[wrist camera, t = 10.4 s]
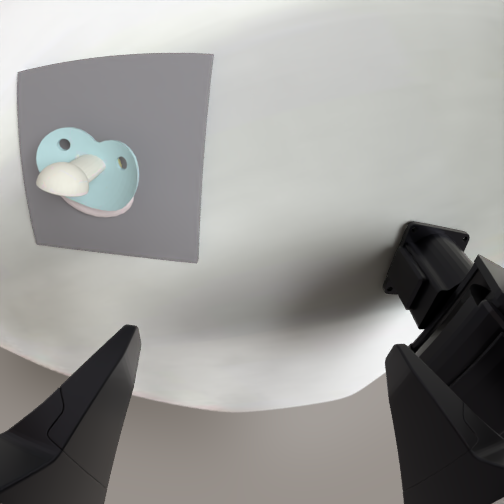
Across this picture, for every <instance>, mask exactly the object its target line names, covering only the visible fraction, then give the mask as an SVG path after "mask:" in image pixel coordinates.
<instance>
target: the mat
mask: <svg viewBox="0 0 504 504" xmlns="http://www.w3.org/2000/svg"><path fill="white" fill-rule="evenodd" d="M213 56H214V55H213V54H200V53H149V54H130V55H117V56H106V57H97V58H89V59H82V60H75V61H69V62H63V63H57V64H52V65H47V66H42V67H38V68H33V69H29V70H25V71H21V72H18V82H17V104H18V128H19V142H20V153H21V162H22V170H23V177H24V184H25V190H26V196H27V202H28V207H29V212H30V217H31V222H32V226H33V231H34V235H35V239H36V243H37V244H38V245H45V246H53V247H61V248H69V249H77V250H85V251H93V252H101V253H110V254H118V255H127V256H135V257H144V258H153V259H161V260H170V261H180V262H189V263H197V262H198V255H199V229H200V208H201V191H202V175H203V160H204V147H205V135H206V123H207V112H208V102H209V92H210V83H211V73H212V65H213ZM66 127H73V128H78V129H81V130H83V131H85V132H87V133H88V134H90V135H91V136H92V137H93V138H94V139H95V140H96V141H97V142H103V141H108V140H116V141H120V142H122V143H124V144H126V145H127V146H128V147H129V148H130V149H131V150H132V151H133V153H134V155H135V157H136V159H137V162H138V167H139V182H138V187H137V190H136V192H135V195H134V201H133V203H132V205H131V207H130V208H129V209H128V210H127V211H126V212H125V213H123V214H120V215H118V216H114V217H96V216H92V215H89V214H85V213H83V212H81V211H79V210H77V209H75V208H74V207H72V206H71V205H70V204H68V203H67V202H66V201H65V200H64V199H63V198H62V197H61V196H59V195H55V194H51V193H48V192H45V191H43V190H42V189H40V188H39V187H38V186H37V185H36V181H37V178H38V175H39V174H40V172H39V170H38V166H37V161H36V156H37V150H38V147H39V145H40V143H41V141H42V140H43V139H44V138H45V136H47V135H48V134H49V133H51V132H53V131H55V130H57V129H60V128H66ZM59 144H60V147H61V148H62V149H64V150H68V149H69V148H70V142H69V141H68V140H67V139H61V140H60V142H59ZM119 159H120V161H121V164H122V168H123V169H126V168H127V162H126V160H125V158H124V157H122V156H120V157H119Z"/></svg>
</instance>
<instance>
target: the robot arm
mask: <svg viewBox="0 0 504 504" xmlns="http://www.w3.org/2000/svg"><path fill="white" fill-rule="evenodd" d="M414 227H415V229H414V230H412V228H414ZM464 237H465V238H464ZM463 238H464V239H463ZM468 241H469V235H468V234H467V233H466V232H464V231H460V230H455V229H450V228H445V227H440V226H435V225H430V224H425V223H419V222H410V223H409V224H408V226H407V228H406V231H405V233H404V236H403V239H402V241H401V244H400V246H399V248H398V249H397V252H396V255H395V257H394V260H393V262H392V264H391V267H390V269H389V272H388V276H387V278H386V280H385V283H384V285H383V290H384V292H385V293H386V294H398V295H399V297H400V299H401V301H402V303H403V305H404V307H405V309H406V310H410V312H411V314H412V316H413V318H414V320H415V322H416V324H417V326H418V328H419V329H424V331H423V332H422V333H421V334H420V335H419V336H418V338H417V339H416V340H415V341H414V342H413V343H411V344H410V345H409V346H407V345H405V344H395V345H394V346H393V348H392V349H391V351H390V352H389V354H388V356H387V357H386V360H385V368H386V377H387V387H388V397H389V403H390V408H391V414H392V419H393V425H394V430H395V437H396V443H397V449H398V456H399V463H400V471H401V479H402V487H403V498H404V504H504V268H502V267H501V266H499V265H497V264H495V263H494V262H492V261H490V260H488V259H486V258H485V257H483V256H481V255H479V254H478V256H477V257H476V259H475V260H474V262H475V263H474V264H473V262H472V261H471V260H470V259H469V258H468V257H467V255H466V254H465V253H464V250H465V248H466V246H467V243H468ZM388 287H390V288H388ZM140 350H141V340H140V334H139V329H138V327H137V326H134V325H125V326H123V327H122V328H121V329H120V330H119V331H118V332H117V333H116V334H115V335H114V336H113V337H112V338H111V339H109V340H108V341H107V342H106V343H105V344H104V345H103V346H102V347H101V348H100V349H99V350H98V351H97V352H96V353H94V354H93V355H92V356H91V357H90V358H89V359H88V360H87V361H86V362H85V363H84V364H83V365H82V366H81V367H80V368H79V369H78V370H77V371H76V372H74V373H73V374H72V375H71V376H70V377H69V378H68V379H67V380H66V381H65V382H64V383H63V384H62V385H61V386H60V388H58V389H57V390H56V391H55V392H54V393H53V394H52V395H50V396H49V397H48V398H47V399H46V400H45V401H44V402H43V403H42V404H40V405H39V406H38V407H37V408H36V409H34V410H33V411H32V412H31V413H29V414H28V415H27V416H25V417H24V418H23V419H22V420H20V421H19V422H18V423H16V424H15V425H14V426H13V427H11V428H10V429H9V430H7V431H5V432H4V433H1V434H0V504H104V501H105V496H106V492H107V487H108V483H109V478H110V474H111V470H112V465H113V461H114V457H115V453H116V449H117V445H118V442H119V438H120V434H121V430H122V427H123V422H124V419H125V416H126V412H127V408H128V405H129V402H130V398H131V395H132V391H133V388H134V383H135V377H136V371H137V366H138V360H139V355H140Z"/></svg>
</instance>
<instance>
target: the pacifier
mask: <svg viewBox="0 0 504 504" xmlns="http://www.w3.org/2000/svg"><path fill="white" fill-rule="evenodd" d="M61 139H67V140H68V141H69V142H70V148H69V149H68V150H64V149H62V148H61V147H60V144H59V142H60V140H61ZM120 156H122V157H124V158H125V160H126V162H127V168H126V169H123V168H122V164H121V161H120V159H119V157H120ZM36 161H37V166H38V170H39V172H40V174H39V175H38V178H37V181H36V185H37V186H38V187H39V188H40V189H42V190H43V191H45V192H48V193H51V194H55V195H59V196H61V197H62V198H63V199H64V200H65V201H66V202H67V203H68V204H70V205H71V206H72V207H74V208H75V209H77V210H79V211H81V212H83V213H85V214H89V215H92V216H96V217H114V216H118V215H120V214H123V213H125V212H126V211H127V210H128V209H129V208H130V207H131V205H132V203H133V201H134V195H135V192H136V190H137V187H138V182H139V167H138V162H137V159H136V157H135V155H134V153H133V151H132V150H131V149H130V148H129V147H128V146H127V145H126V144H124V143H122V142H120V141H116V140H108V141H103V142H97V141H96V140H95V139H94V138H93V137H92V136H91V135H90V134H88V133H87V132H85V131H83V130H81V129H78V128H73V127H66V128H60V129H57V130H55V131H53V132H51V133H49V134H48V135H47V136H45V138H44V139H43V140H42V141H41V143H40V145H39V147H38V150H37V156H36Z"/></svg>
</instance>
